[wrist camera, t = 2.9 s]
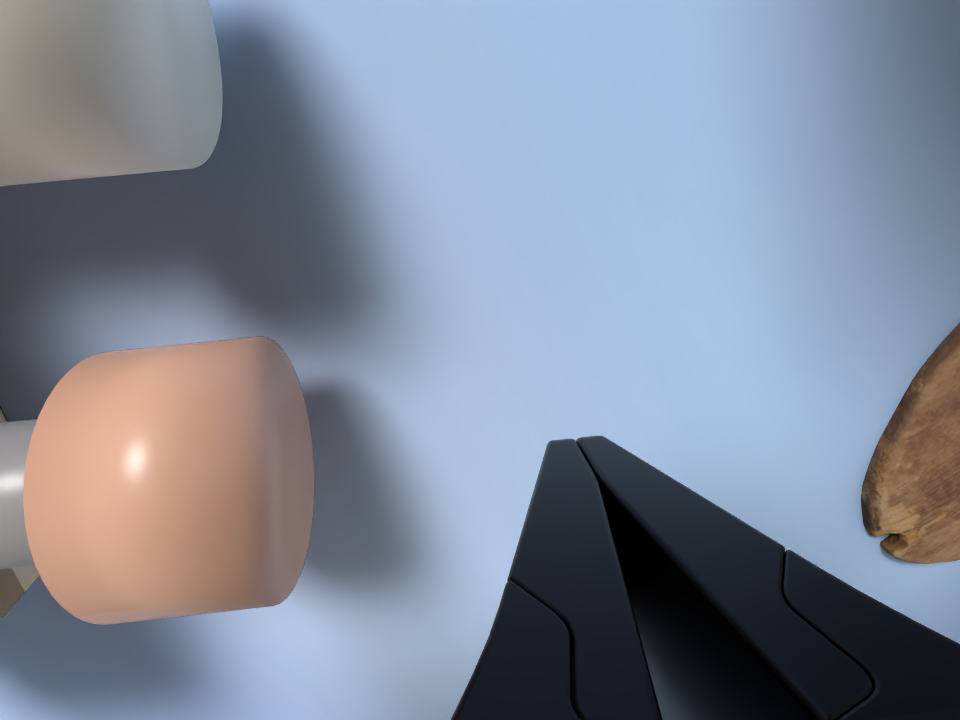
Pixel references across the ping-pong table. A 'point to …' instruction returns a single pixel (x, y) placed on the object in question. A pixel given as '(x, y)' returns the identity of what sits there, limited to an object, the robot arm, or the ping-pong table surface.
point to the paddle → (920, 466)
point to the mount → (14, 578)
